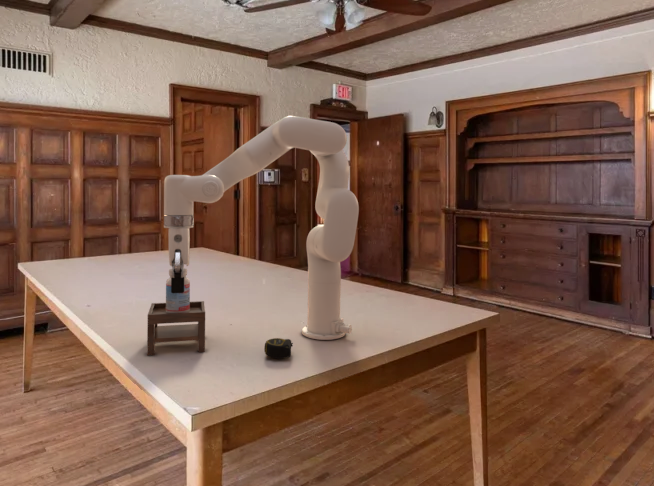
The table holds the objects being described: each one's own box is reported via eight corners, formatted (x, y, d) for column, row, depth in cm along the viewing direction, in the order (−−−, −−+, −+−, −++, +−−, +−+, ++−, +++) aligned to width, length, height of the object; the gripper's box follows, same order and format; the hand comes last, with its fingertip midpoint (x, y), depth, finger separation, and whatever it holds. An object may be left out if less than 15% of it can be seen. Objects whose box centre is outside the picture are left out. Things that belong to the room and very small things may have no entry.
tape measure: (290, 361, 112) (291, 346, 112) (262, 360, 113) (262, 345, 113) (292, 352, 119) (292, 337, 119) (266, 351, 119) (266, 336, 119)
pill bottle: (183, 315, 119) (183, 272, 119) (161, 314, 120) (161, 270, 120) (193, 309, 125) (193, 268, 125) (172, 308, 126) (172, 267, 126)
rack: (203, 337, 130) (204, 301, 130) (204, 351, 118) (205, 312, 118) (151, 340, 127) (151, 303, 127) (147, 355, 115) (147, 314, 115)
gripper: (193, 224, 115) (192, 296, 115) (193, 219, 131) (192, 283, 132) (161, 224, 113) (161, 298, 113) (165, 219, 130) (165, 284, 130)
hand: (178, 289), depth 122 cm, fingers closed on pill bottle, 6 cm apart
